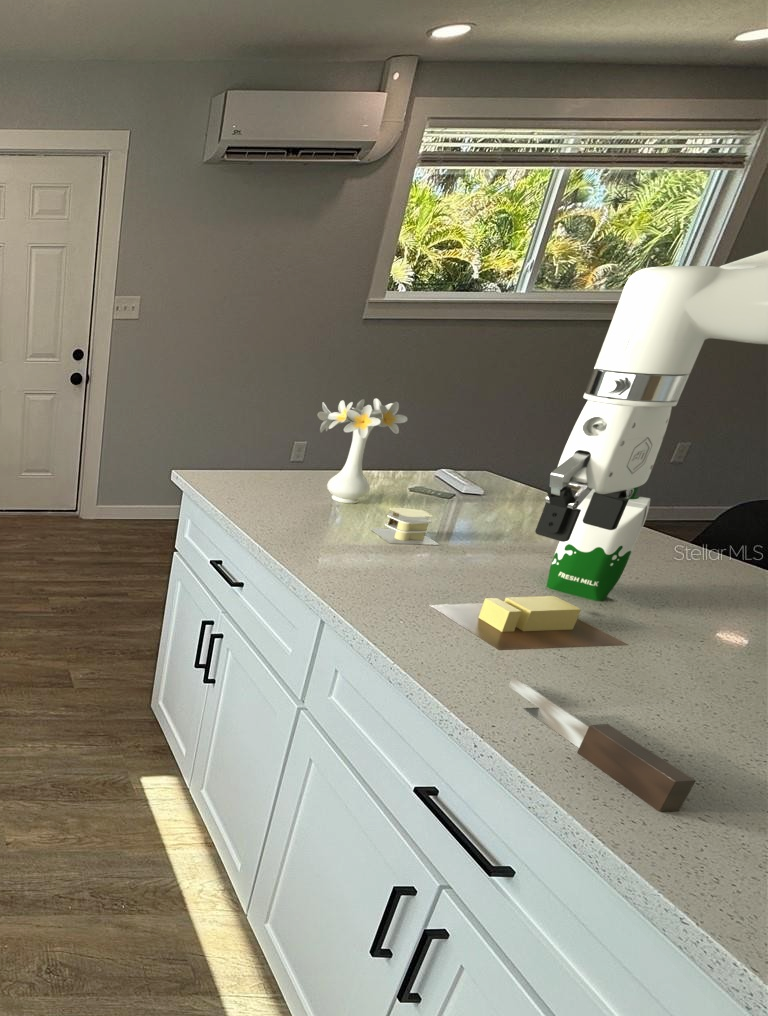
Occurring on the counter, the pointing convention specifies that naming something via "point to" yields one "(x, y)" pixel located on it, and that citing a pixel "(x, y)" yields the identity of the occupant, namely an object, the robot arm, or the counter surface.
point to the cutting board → (525, 639)
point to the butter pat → (499, 614)
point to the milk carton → (597, 552)
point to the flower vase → (357, 443)
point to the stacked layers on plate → (406, 527)
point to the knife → (614, 754)
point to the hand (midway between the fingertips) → (575, 531)
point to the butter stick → (544, 613)
